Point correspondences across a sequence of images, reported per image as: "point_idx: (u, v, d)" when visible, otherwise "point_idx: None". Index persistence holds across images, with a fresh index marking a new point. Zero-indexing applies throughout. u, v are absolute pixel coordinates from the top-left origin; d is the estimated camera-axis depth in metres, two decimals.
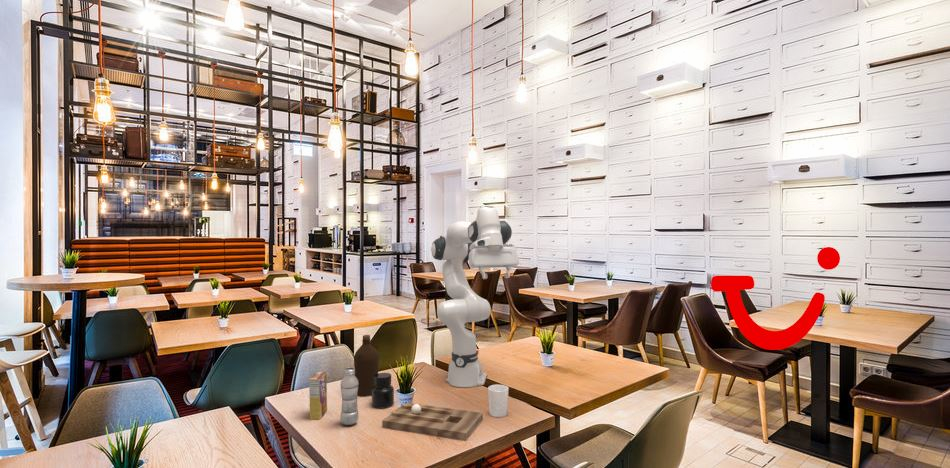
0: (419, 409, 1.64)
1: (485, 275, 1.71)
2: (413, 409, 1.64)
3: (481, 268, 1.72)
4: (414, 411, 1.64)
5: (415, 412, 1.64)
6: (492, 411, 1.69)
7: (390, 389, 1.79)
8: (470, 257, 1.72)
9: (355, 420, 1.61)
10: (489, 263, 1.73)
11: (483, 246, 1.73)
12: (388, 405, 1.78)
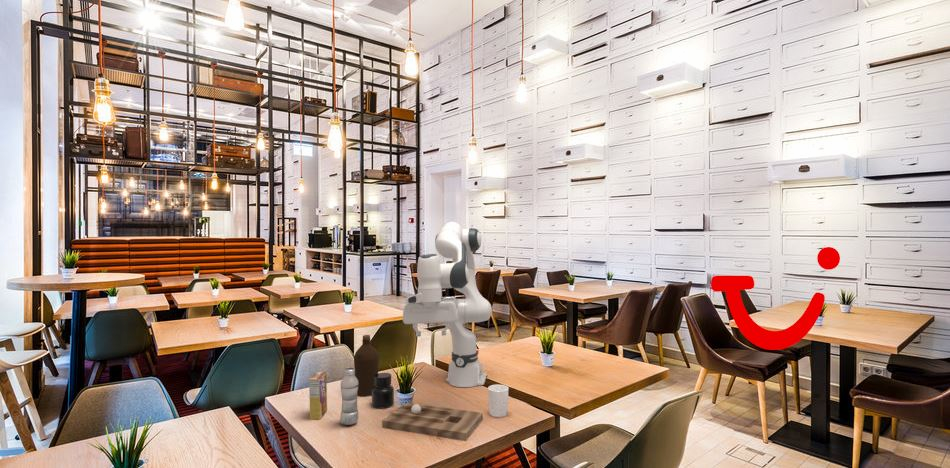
0: (419, 409, 1.64)
1: (417, 333, 1.63)
2: (413, 409, 1.64)
3: (413, 326, 1.63)
4: (414, 411, 1.64)
5: (415, 412, 1.64)
6: (492, 411, 1.69)
7: (390, 389, 1.79)
8: None
9: (355, 420, 1.61)
10: (421, 320, 1.62)
11: (414, 303, 1.62)
12: (388, 405, 1.78)
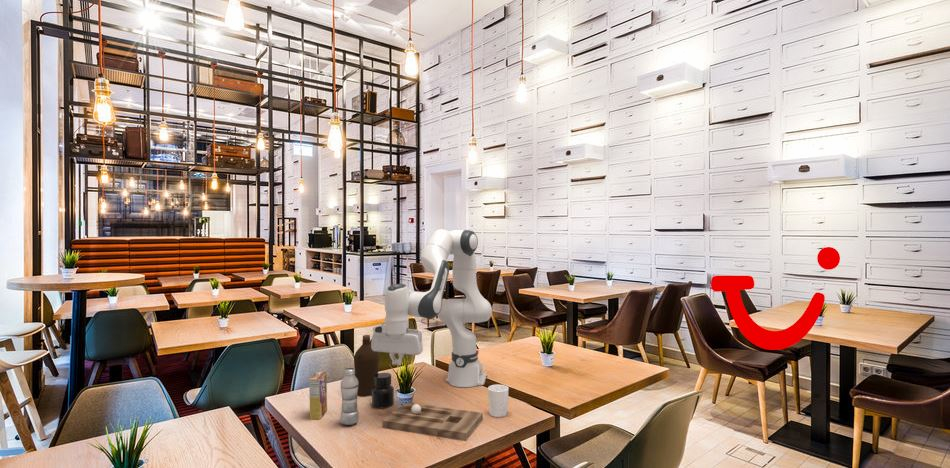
0: (419, 409, 1.64)
1: (393, 362, 1.67)
2: (413, 409, 1.64)
3: (390, 354, 1.68)
4: (414, 411, 1.64)
5: (415, 412, 1.64)
6: (492, 411, 1.69)
7: (390, 389, 1.79)
8: None
9: (355, 420, 1.61)
10: (387, 350, 1.67)
11: (380, 333, 1.67)
12: (388, 405, 1.78)
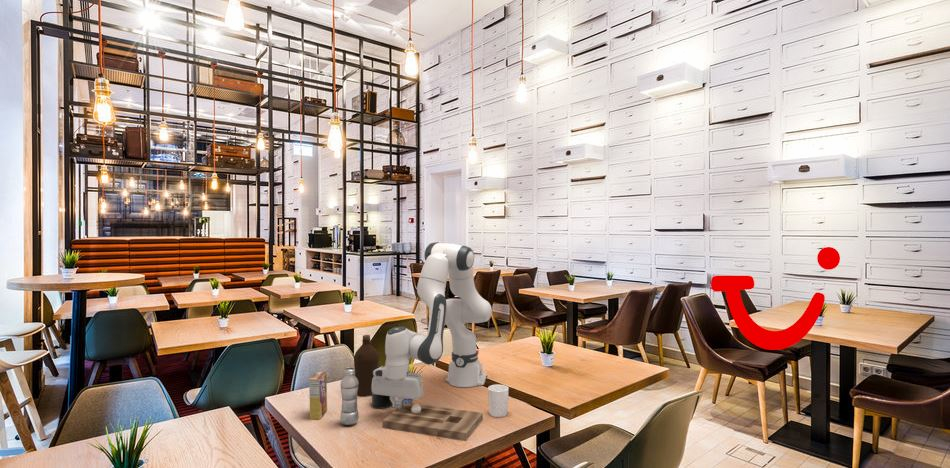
0: (419, 409, 1.64)
1: (394, 405, 1.67)
2: (413, 409, 1.64)
3: (390, 398, 1.68)
4: (414, 411, 1.64)
5: (415, 412, 1.64)
6: (492, 411, 1.69)
7: None
8: None
9: (355, 420, 1.61)
10: (387, 393, 1.67)
11: (381, 377, 1.67)
12: (388, 405, 1.78)
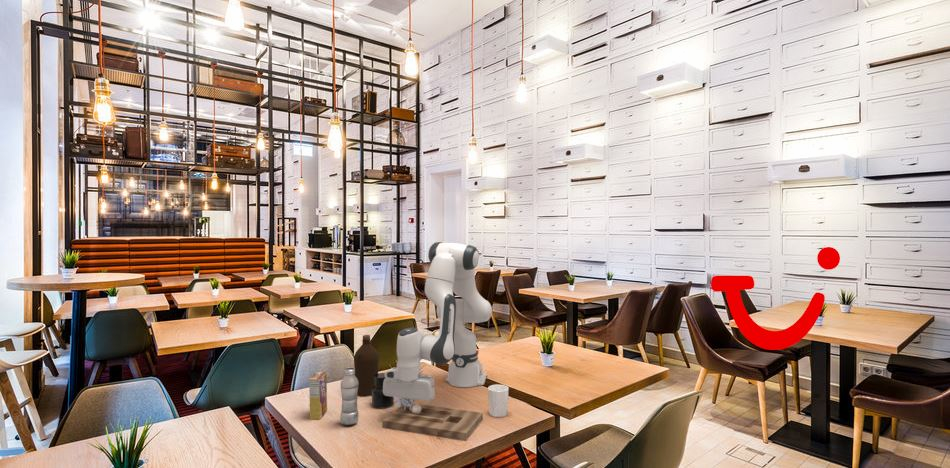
0: (419, 409, 1.64)
1: (405, 407, 1.66)
2: (413, 409, 1.64)
3: (402, 399, 1.66)
4: (414, 411, 1.64)
5: (416, 412, 1.64)
6: (492, 411, 1.69)
7: None
8: None
9: (355, 420, 1.61)
10: (399, 395, 1.66)
11: (392, 378, 1.65)
12: (388, 405, 1.78)
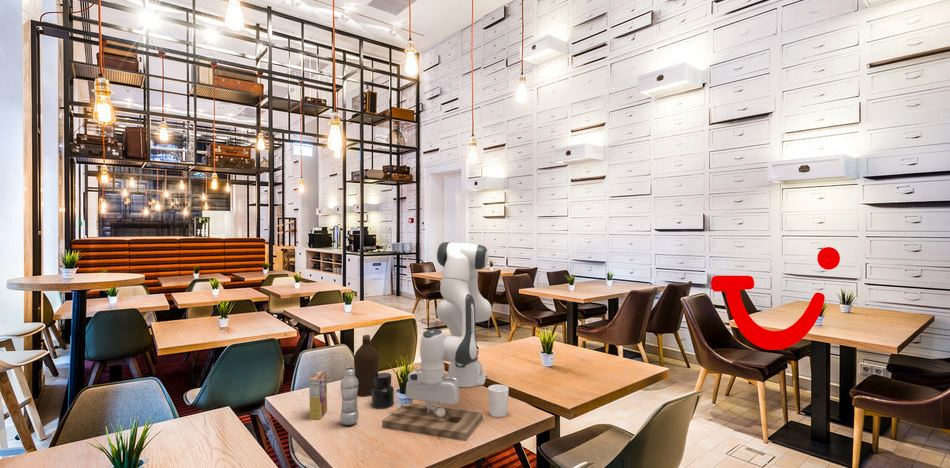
0: (442, 409, 1.61)
1: (429, 410, 1.63)
2: (437, 413, 1.61)
3: (425, 402, 1.63)
4: (439, 414, 1.60)
5: (440, 414, 1.60)
6: (492, 411, 1.69)
7: (390, 389, 1.79)
8: None
9: (355, 420, 1.61)
10: (422, 398, 1.62)
11: (416, 381, 1.62)
12: (388, 405, 1.78)
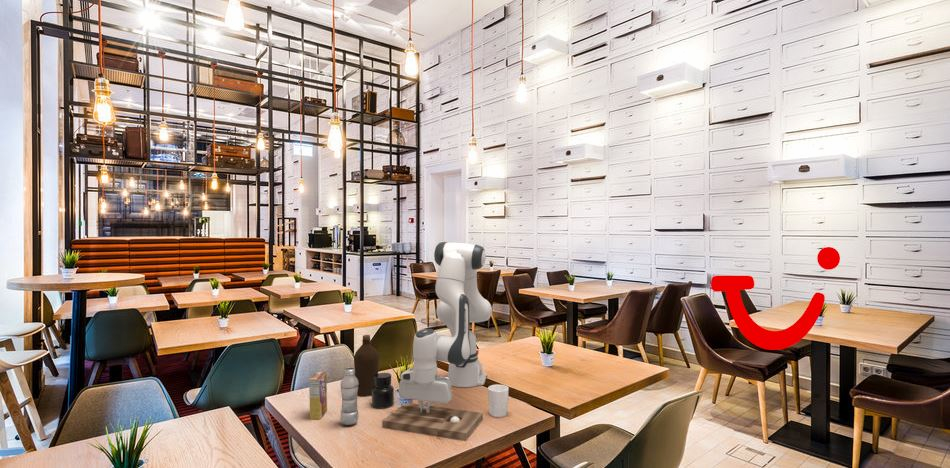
0: None
1: (422, 409, 1.64)
2: None
3: (418, 402, 1.64)
4: None
5: None
6: (492, 411, 1.69)
7: (390, 389, 1.79)
8: None
9: (355, 420, 1.61)
10: (415, 397, 1.63)
11: (408, 380, 1.63)
12: (388, 405, 1.78)
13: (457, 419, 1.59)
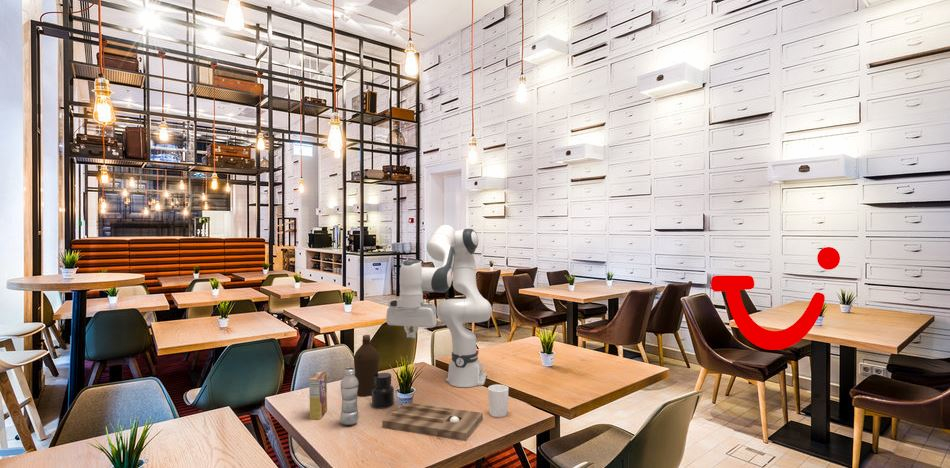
0: None
1: (408, 335, 1.72)
2: None
3: (405, 328, 1.73)
4: None
5: None
6: (492, 411, 1.69)
7: (390, 389, 1.79)
8: None
9: (355, 420, 1.61)
10: (402, 323, 1.72)
11: (395, 307, 1.72)
12: (388, 405, 1.78)
13: (456, 419, 1.59)
